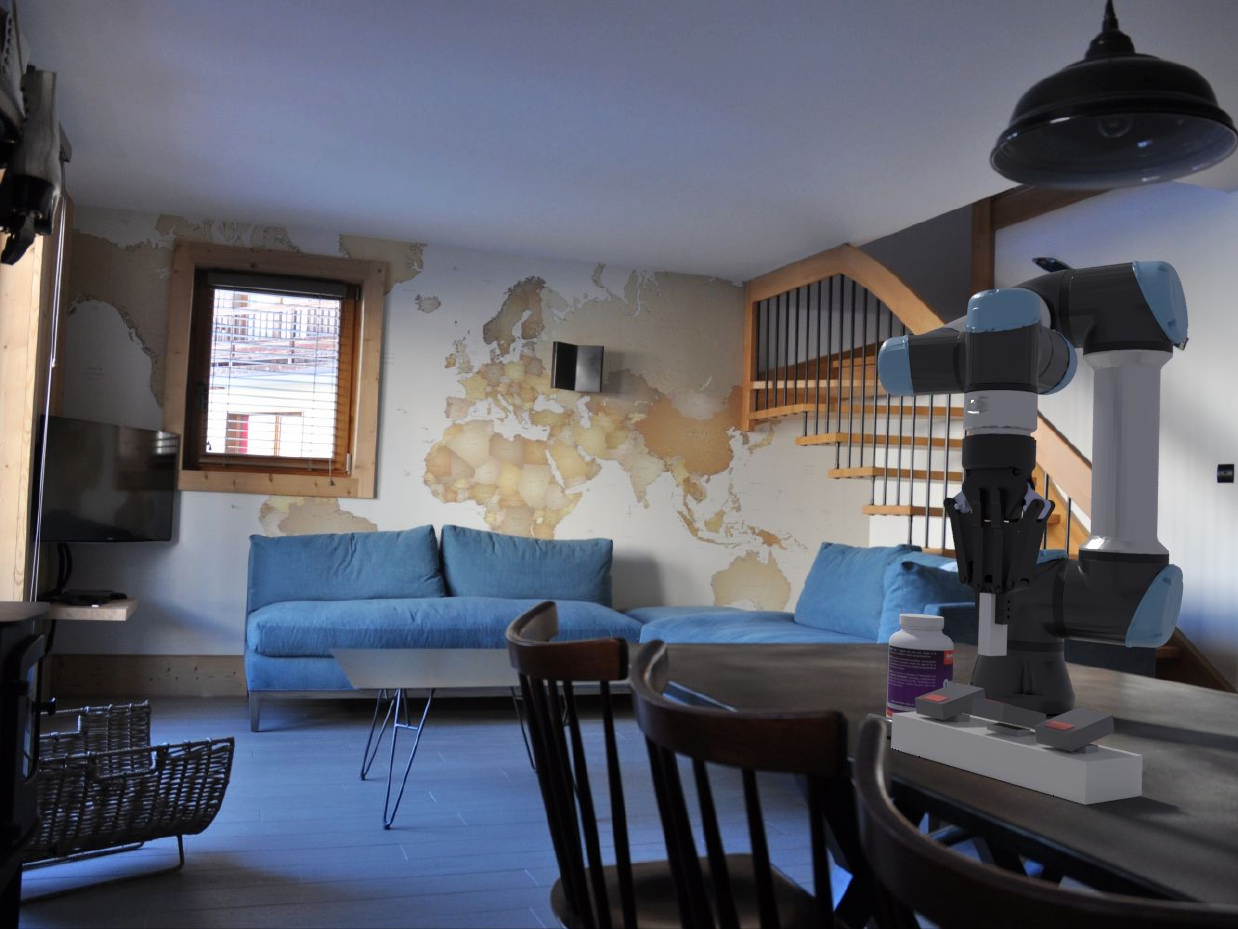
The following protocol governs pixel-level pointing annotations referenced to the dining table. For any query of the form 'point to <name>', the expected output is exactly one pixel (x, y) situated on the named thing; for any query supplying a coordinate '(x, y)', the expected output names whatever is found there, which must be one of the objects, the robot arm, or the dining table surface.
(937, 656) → the pill bottle
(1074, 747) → the rocker
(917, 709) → the rocker
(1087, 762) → the power strip
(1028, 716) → the rocker
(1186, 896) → the dining table surface
